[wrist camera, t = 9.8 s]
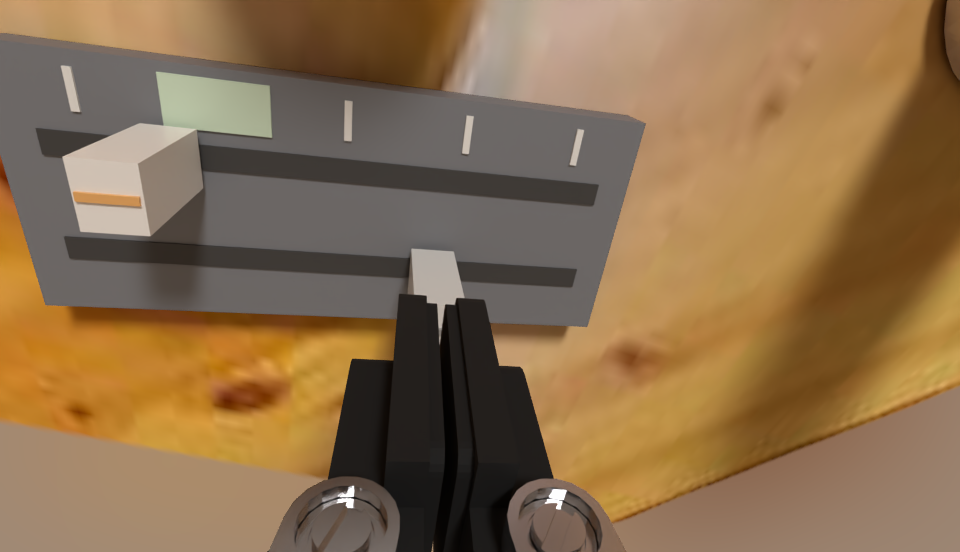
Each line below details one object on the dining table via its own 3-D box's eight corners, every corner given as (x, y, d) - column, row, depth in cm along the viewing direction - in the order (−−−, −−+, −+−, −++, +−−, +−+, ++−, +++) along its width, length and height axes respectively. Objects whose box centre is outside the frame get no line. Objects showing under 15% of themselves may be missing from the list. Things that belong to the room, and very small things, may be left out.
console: (627, 115, 24) (646, 123, 22) (575, 307, 29) (587, 327, 27) (4, 33, 19) (-38, 35, 17) (71, 283, 24) (44, 306, 22)
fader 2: (453, 251, 23) (467, 307, 19) (448, 295, 24) (459, 358, 20) (411, 248, 23) (414, 305, 19) (407, 292, 24) (409, 356, 20)
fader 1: (196, 129, 19) (136, 164, 15) (203, 187, 20) (149, 237, 16) (139, 122, 19) (60, 157, 14) (149, 183, 20) (78, 232, 16)
